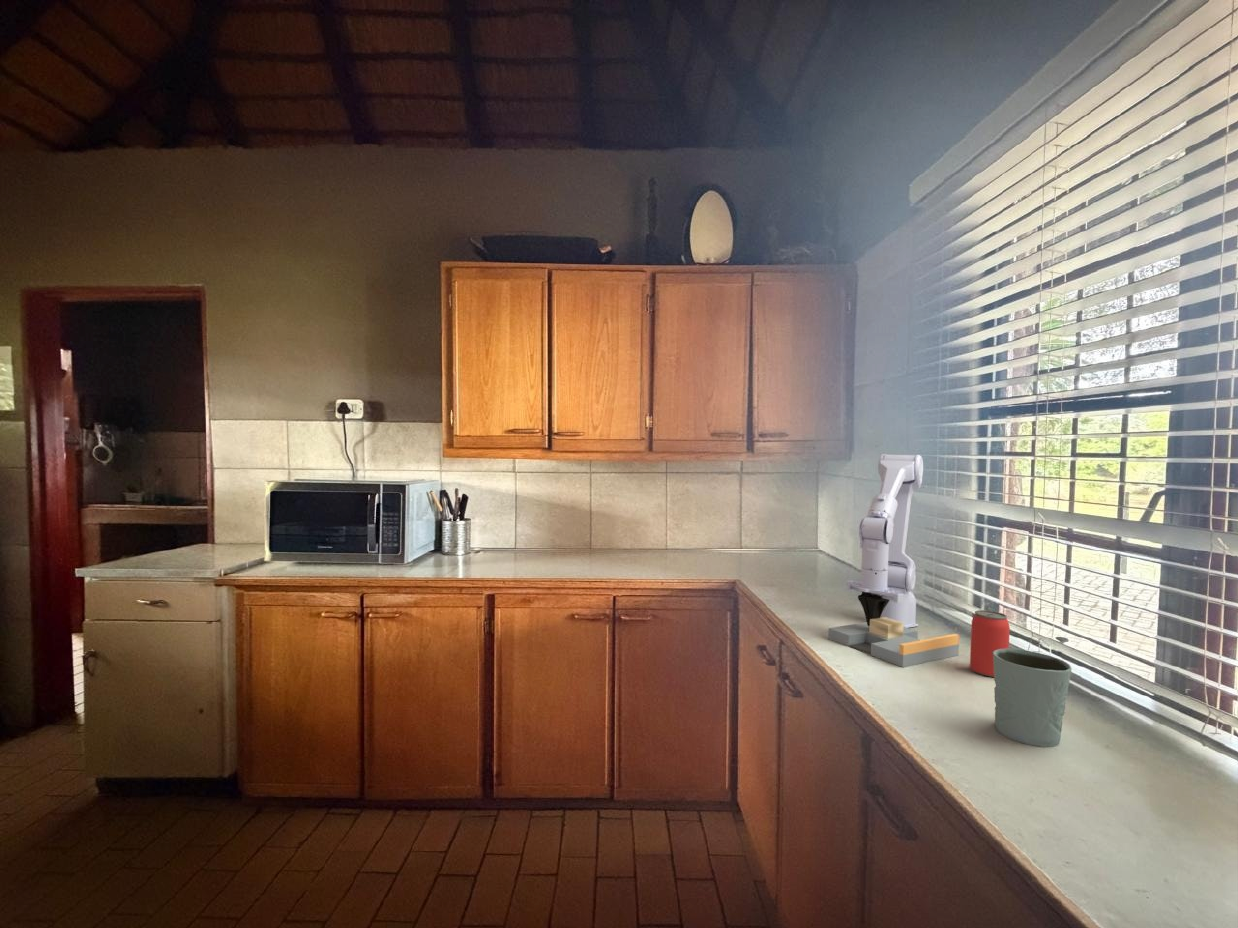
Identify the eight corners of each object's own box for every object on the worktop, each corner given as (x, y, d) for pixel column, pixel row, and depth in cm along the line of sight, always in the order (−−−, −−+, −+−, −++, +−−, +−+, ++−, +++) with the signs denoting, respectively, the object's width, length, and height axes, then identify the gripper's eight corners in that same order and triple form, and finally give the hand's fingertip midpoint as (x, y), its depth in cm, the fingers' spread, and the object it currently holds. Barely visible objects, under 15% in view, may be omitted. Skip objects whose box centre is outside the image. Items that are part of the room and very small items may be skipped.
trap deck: (881, 629, 148) (882, 611, 148) (958, 655, 130) (959, 635, 130) (828, 638, 140) (829, 619, 140) (902, 667, 122) (903, 645, 122)
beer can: (972, 675, 119) (975, 615, 119) (967, 664, 125) (969, 607, 125) (1011, 680, 116) (1013, 619, 116) (1003, 669, 122) (1006, 611, 122)
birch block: (884, 629, 140) (885, 617, 140) (902, 635, 135) (903, 622, 135) (869, 632, 138) (869, 619, 138) (887, 638, 133) (888, 625, 133)
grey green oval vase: (976, 724, 97) (978, 651, 97) (1016, 715, 101) (1019, 644, 101) (1041, 754, 88) (1044, 674, 87) (1083, 742, 92) (1086, 665, 91)
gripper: (838, 563, 144) (836, 619, 145) (889, 575, 131) (887, 636, 132) (858, 562, 147) (857, 616, 148) (910, 573, 134) (908, 633, 135)
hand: (872, 625), depth 140 cm, fingers closed
